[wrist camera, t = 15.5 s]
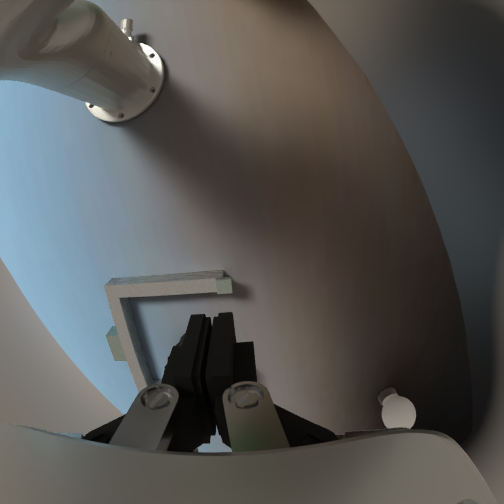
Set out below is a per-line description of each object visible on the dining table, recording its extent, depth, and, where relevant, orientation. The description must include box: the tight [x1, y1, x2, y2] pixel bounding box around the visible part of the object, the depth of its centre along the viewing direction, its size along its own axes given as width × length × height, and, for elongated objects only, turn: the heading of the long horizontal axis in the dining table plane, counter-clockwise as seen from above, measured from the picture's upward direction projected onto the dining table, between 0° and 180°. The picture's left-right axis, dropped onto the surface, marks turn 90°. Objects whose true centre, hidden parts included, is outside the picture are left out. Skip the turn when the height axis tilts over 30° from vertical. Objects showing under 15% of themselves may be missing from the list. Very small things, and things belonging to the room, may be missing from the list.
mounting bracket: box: [104, 270, 233, 393], centre depth 42 cm, size 22×21×4 cm
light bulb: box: [378, 388, 416, 429], centre depth 45 cm, size 7×7×11 cm
